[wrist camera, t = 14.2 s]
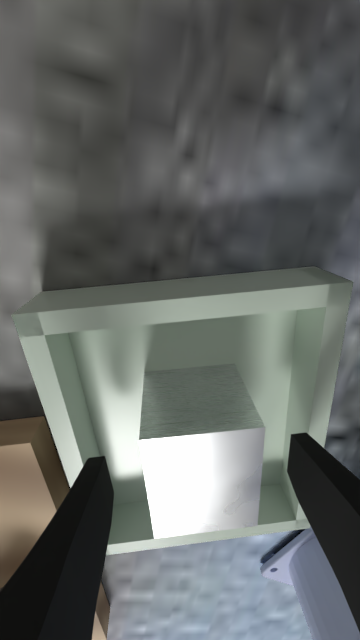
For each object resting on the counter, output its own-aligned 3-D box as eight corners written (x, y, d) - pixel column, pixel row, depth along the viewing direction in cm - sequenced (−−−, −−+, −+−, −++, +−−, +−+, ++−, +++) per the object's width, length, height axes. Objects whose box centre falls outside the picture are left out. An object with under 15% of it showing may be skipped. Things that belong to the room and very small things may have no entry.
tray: (288, 483, 16) (309, 527, 14) (102, 507, 16) (93, 556, 14) (314, 266, 11) (353, 281, 9) (41, 291, 11) (11, 314, 9)
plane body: (109, 607, 20) (105, 646, 18) (12, 621, 20) (-2, 661, 18) (44, 416, 13) (27, 448, 11) (-108, 433, 13) (-150, 469, 11)
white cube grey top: (232, 446, 14) (257, 526, 11) (155, 455, 14) (154, 538, 11) (234, 363, 12) (265, 427, 9) (144, 371, 12) (138, 440, 9)
